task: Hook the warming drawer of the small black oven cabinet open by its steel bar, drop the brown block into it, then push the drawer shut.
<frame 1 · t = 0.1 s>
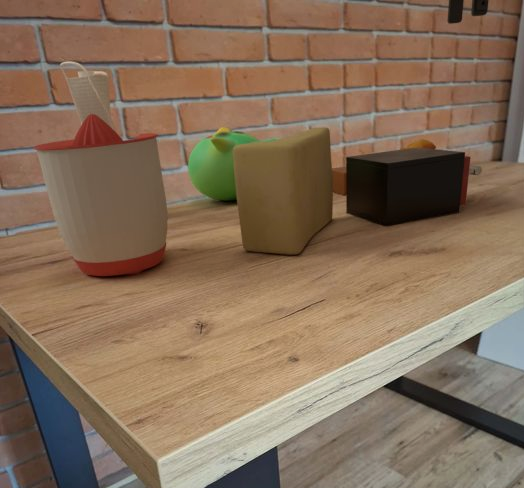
hand: (466, 19, 81), 28 cm above the table, tool pointing down, fingers open, 8 cm apart
citrus juicer: (126, 264, 74), on the table
cheese: (301, 235, 81), on the table
toy bird: (234, 200, 113), on the table
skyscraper: (117, 222, 102), on the table
drawer: (424, 180, 88), point 5 cm above the table, slide at 0.5 cm
cabinet: (400, 212, 89), on the table
brown block: (344, 191, 111), on the table
cheeseburger: (418, 184, 113), on the table
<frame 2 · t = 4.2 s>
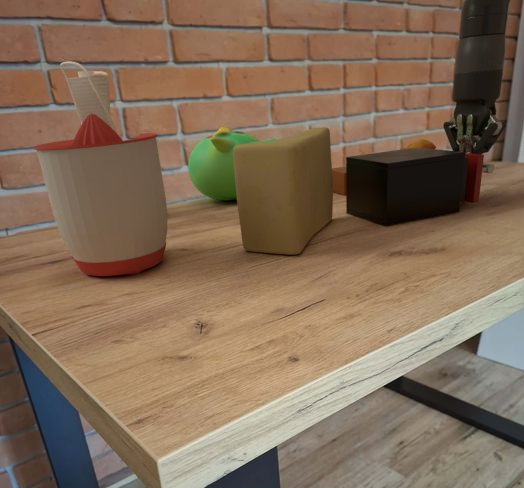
hand: (467, 178, 92), 4 cm above the table, tool pointing down, fingers closed
drawer: (437, 178, 89), point 5 cm above the table, slide at 3.3 cm, touching gripper
everything else where it was.
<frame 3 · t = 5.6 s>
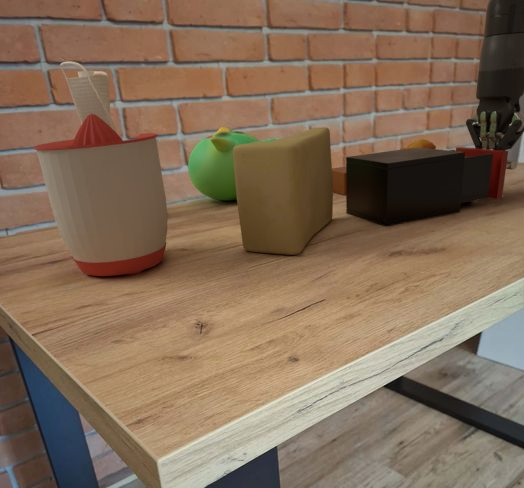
hand: (489, 174, 93), 4 cm above the table, tool pointing down, fingers closed
drawer: (461, 174, 91), point 5 cm above the table, slide at 8.4 cm
everything else where it was.
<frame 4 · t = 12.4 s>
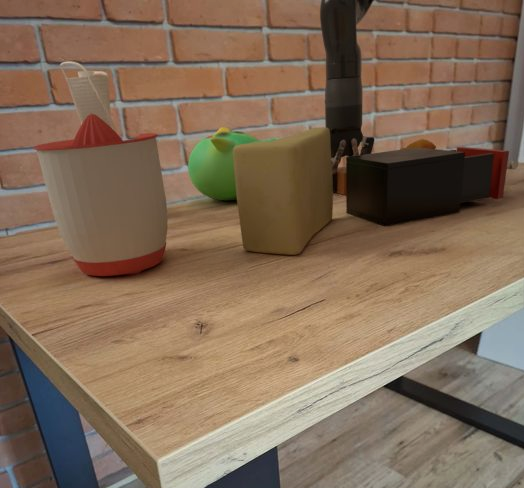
hand: (344, 189, 111), 0 cm above the table, tool pointing down, fingers closed on brown block, 4 cm apart
brown block: (344, 191, 111), on the table, touching gripper
everything else where it was.
when the fingers open (8 cm above the table, at t = 19.3 s): brown block drops 6 cm, resting on drawer.
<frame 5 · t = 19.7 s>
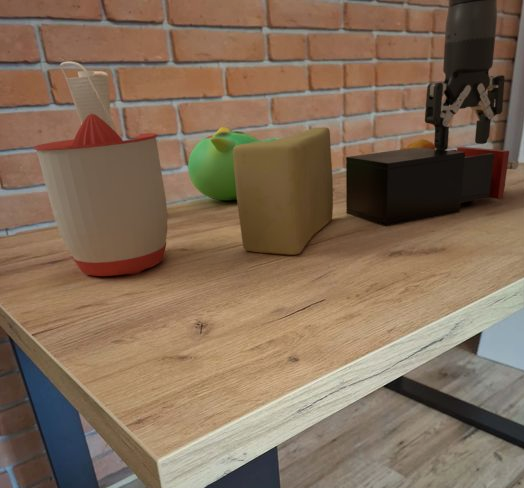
hand: (461, 146, 88), 10 cm above the table, tool pointing down, fingers open, 8 cm apart
drawer: (462, 174, 91), point 5 cm above the table, slide at 8.6 cm, touching brown block
brown block: (453, 192, 92), point 2 cm above the table, touching drawer
everything else where it was.
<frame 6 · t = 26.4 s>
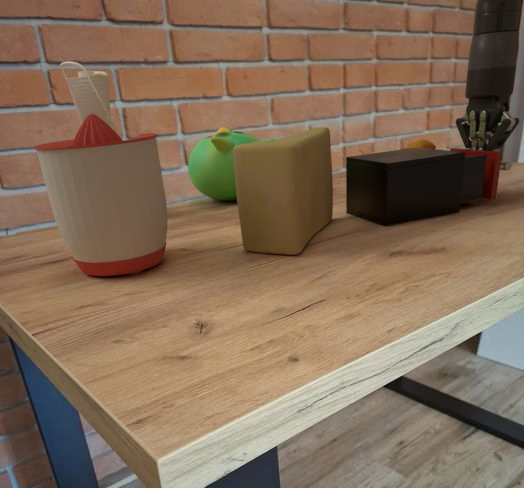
hand: (479, 174, 92), 4 cm above the table, tool pointing down, fingers closed
drawer: (455, 175, 90), point 5 cm above the table, slide at 7.0 cm, touching brown block, gripper
brown block: (446, 193, 91), point 2 cm above the table, touching drawer
everything else where it was.
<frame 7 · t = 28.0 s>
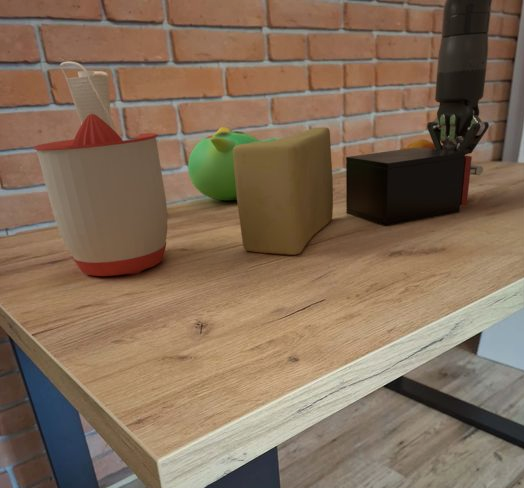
hand: (451, 179, 90), 4 cm above the table, tool pointing down, fingers closed
drawer: (425, 180, 89), point 5 cm above the table, slide at 0.8 cm, touching brown block, gripper, hand
brown block: (417, 198, 89), point 2 cm above the table, touching drawer
everything else where it was.
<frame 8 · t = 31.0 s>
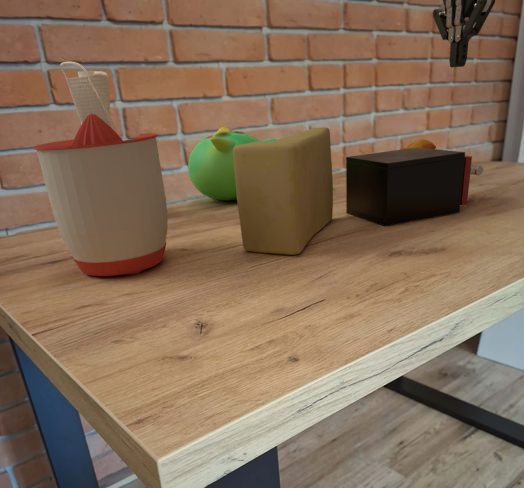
hand: (457, 66, 90), 22 cm above the table, tool pointing down, fingers closed
drawer: (426, 180, 89), point 5 cm above the table, slide at 0.8 cm, touching brown block
everything else where it was.
at the end: drawer pulled out 8.6 cm at the most during the clip, back to 0.8 cm at the end; brown block inside the target area in the cabinet (3.3 cm from its centre), point 2.0 cm above the cabinet's base; drawer slide at 0.8 cm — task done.
